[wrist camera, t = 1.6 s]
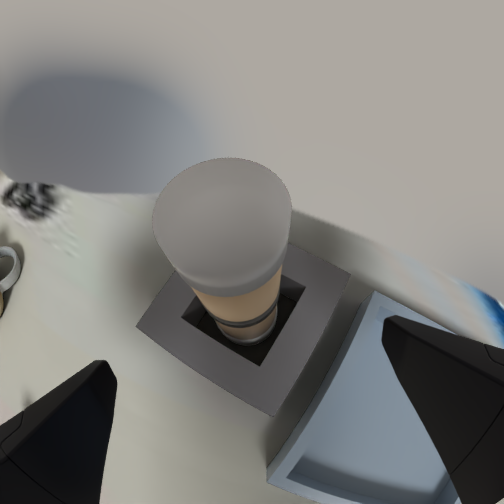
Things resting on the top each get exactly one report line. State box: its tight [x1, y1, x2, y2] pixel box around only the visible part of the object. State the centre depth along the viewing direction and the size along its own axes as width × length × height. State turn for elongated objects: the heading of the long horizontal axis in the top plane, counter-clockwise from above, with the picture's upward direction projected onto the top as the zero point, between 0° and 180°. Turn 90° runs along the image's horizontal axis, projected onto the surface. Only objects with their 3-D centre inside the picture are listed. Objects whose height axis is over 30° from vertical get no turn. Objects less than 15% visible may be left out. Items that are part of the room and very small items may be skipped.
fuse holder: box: [136, 243, 351, 417], centre depth 18 cm, size 10×10×4 cm
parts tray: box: [267, 290, 461, 504], centre depth 13 cm, size 16×14×3 cm
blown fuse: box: [152, 158, 292, 346], centre depth 14 cm, size 4×4×13 cm
